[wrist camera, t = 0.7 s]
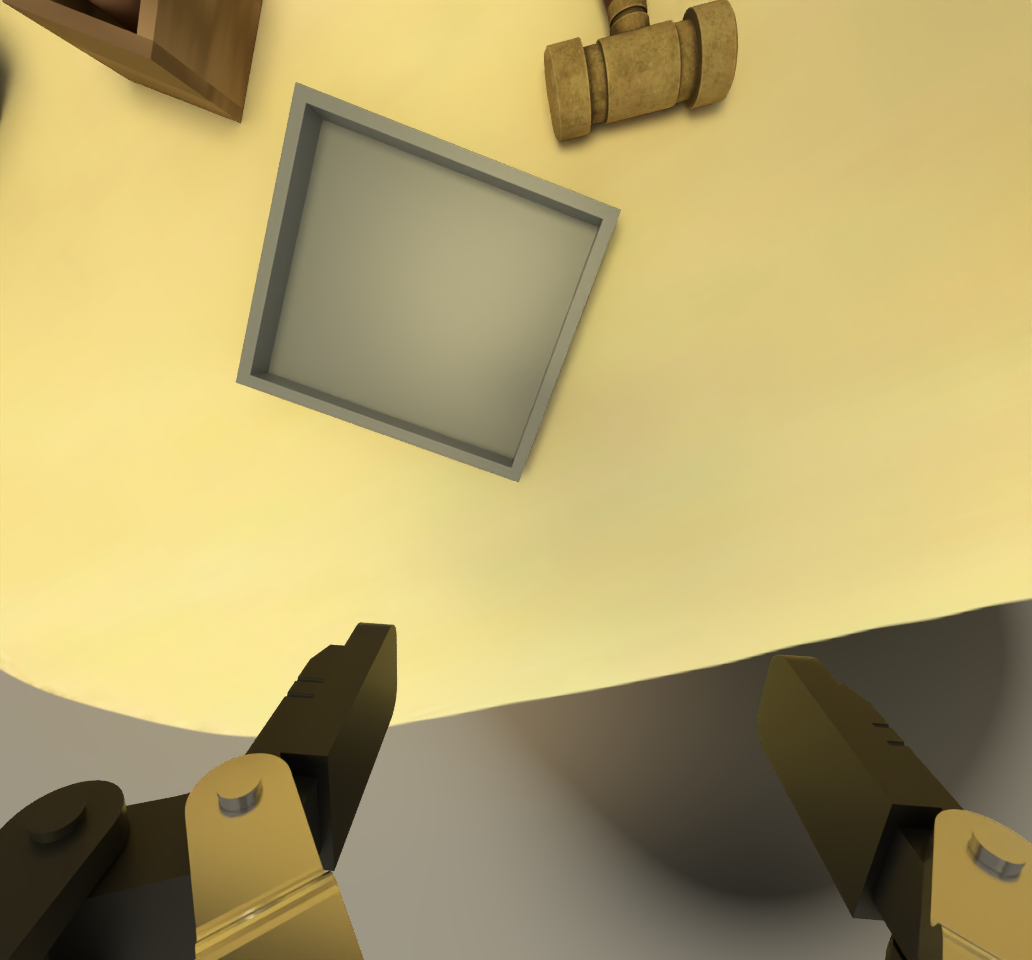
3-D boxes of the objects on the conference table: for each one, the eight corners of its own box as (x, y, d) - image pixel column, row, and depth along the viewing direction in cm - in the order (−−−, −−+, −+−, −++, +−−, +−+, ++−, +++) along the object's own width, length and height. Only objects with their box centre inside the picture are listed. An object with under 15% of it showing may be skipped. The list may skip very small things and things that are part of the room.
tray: (317, 104, 32) (295, 81, 30) (613, 220, 34) (620, 209, 31) (259, 378, 37) (235, 382, 34) (519, 471, 39) (518, 482, 36)
